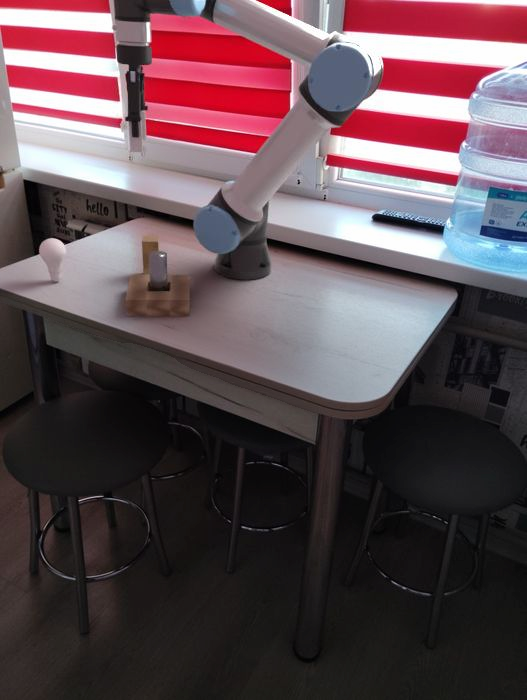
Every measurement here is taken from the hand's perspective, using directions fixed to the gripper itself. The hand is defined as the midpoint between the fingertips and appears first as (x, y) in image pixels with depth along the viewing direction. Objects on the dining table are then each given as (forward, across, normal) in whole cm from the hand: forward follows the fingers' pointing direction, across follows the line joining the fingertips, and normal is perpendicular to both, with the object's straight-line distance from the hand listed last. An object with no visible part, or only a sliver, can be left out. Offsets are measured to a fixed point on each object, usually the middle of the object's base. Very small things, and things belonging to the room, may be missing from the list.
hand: (138, 145), depth 139 cm
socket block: (+32, +18, +4) cm, 37 cm away
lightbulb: (+32, +7, -21) cm, 39 cm away
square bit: (+32, +3, +2) cm, 32 cm away
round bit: (+32, +18, +4) cm, 37 cm away
